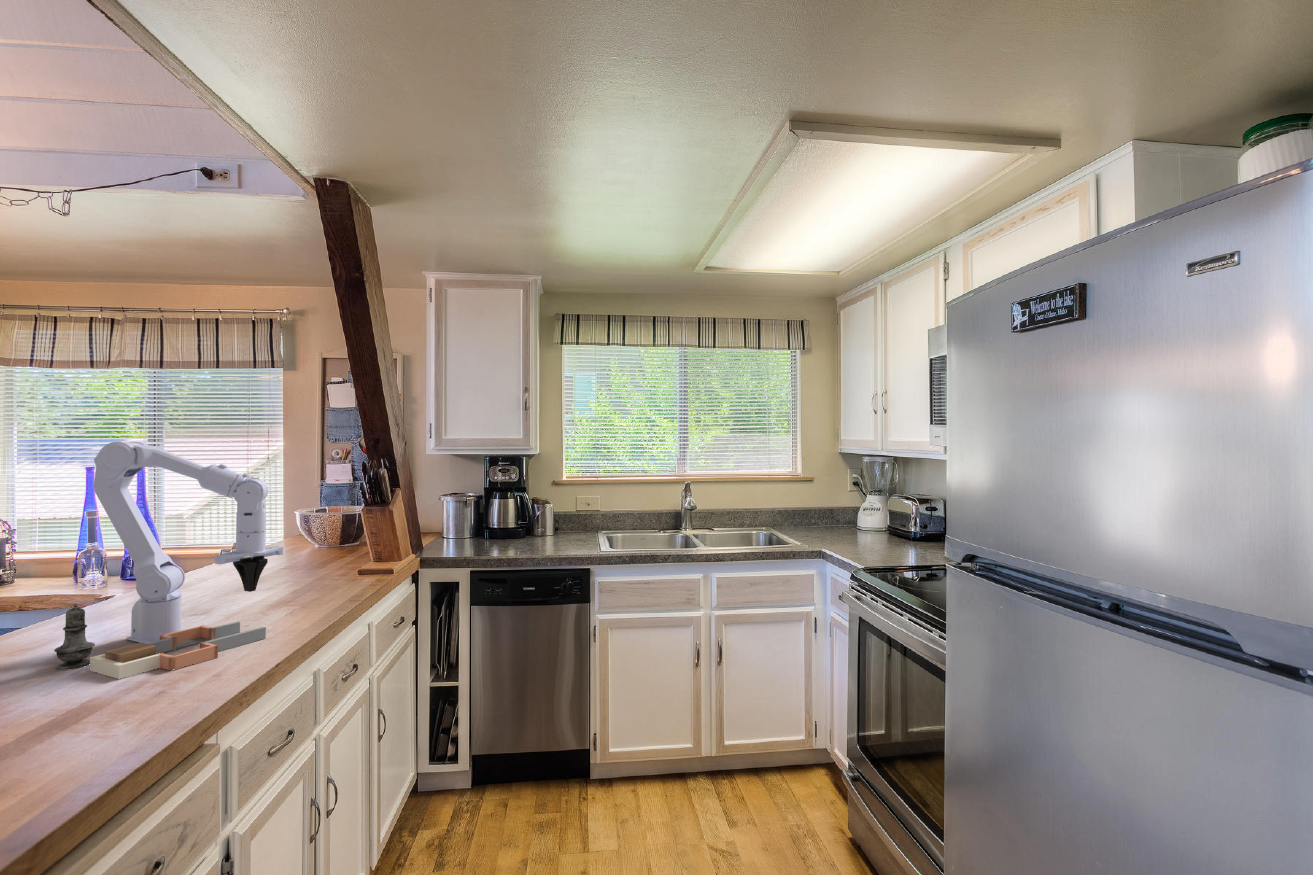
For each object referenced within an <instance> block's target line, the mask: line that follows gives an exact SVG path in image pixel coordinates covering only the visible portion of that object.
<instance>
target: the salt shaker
mask: <svg viewBox="0 0 1313 875" xmlns="http://www.w3.org/2000/svg"><path fill="white" fill-rule="evenodd" d="M78 606H79V605H78V604H77V603H74V605H73V607H72V608H71V609H69V610H67V611H66V612H65V626H64V627H63V628H62V630H63V632H64V640H63V643H62V645H60V646H58V647H56V648H55V649H54V651H53V652H54V653H56V654H55V655H56V657H57V659H58V660H59V661H61V662H62V663H60V664H59V665H57V666H56V667H55V669H56V670H57V669H59V670H58V671H69V670H68V669H72V670H77V669H81V668H82V669H83V668H85V667H84V666H86V667H88V666H90V665H89V664H90V659H88V658H87V657H90V655H91V653H92V651H93V647H95V645H96V644H95V642H93V641H92V642H91V641H87V638H86V628H87V627H88V625H87V624H86V611H85V609H84V608H81V607H78ZM86 658H87V659H86Z"/></svg>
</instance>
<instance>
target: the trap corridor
mask: <svg viewBox="0 0 1313 875" xmlns="http://www.w3.org/2000/svg"><path fill="white" fill-rule="evenodd" d="M266 630H267V628H266V626H259V627H256V628H252V629H248V630H245V631H241V621H234V622H230V623H225V624H221V625H218V626H213V627H212V626H207V625H203V624H202V625H198V626H194V627H189V628H186V629H182V630H181V631H177V632H173V633H168V634H164V635H160V640H159V641H155V642H151V643H147V644H150V645H154V646H156V655H152V656H148V657H144V658H141V659H137V660H133V661H129V662H125V663H120V662H117V661H113V660H109V659H106V658H105V653H103V654H98V655H95V656H89V660H90V665H89V672H94V673H96V672H97V674H100V675H103V676H106V675H107V676H106V677H109V676H110V678H113V677H115V678H114V679H116V678H117V679H116V680H121V679H120V678H122V679H124V678H123V677H126V678H128V676H129V677H132V676H131V675H133V676H136V675H140V674H144V673H147V672H151V671H153V670H152V669H155V670H158V669H162V668H163V670H165V669H168V670H167V671H169V670H173V669H176V670H179V669H178V668H180V669H182V668H181V667H183V666H187V667H190V666H193V665H192V664H194V665H197V664H201V663H203V661H204V662H207V661H211V660H214V659H213V658H215V659H218V658H219V652H222V651H226V650H230V649H232V648H233V649H234V648H237V647H240V646H243V645H244V646H245V645H247V644H251V643H255V642H258V641H262V640H265V639H267V635H266V634H267V632H266ZM191 645H192V646H195V645H199V648H197V649H194V650H190V651H186V652H184V653H179V654H176V655H171V654H167V653H168V652H167V651H169V652H171V651H170V650H173V651H176V649H177V650H180V649H179V648H181V649H183V648H188V647H191ZM164 652H165V653H164ZM159 653H160V654H159ZM200 662H201V663H200ZM189 665H190V666H189ZM157 668H158V669H157ZM183 668H184V667H183ZM150 670H151V671H150ZM173 671H174V670H173ZM143 672H144V673H143Z"/></svg>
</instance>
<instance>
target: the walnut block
mask: <svg viewBox="0 0 1313 875" xmlns="http://www.w3.org/2000/svg"><path fill="white" fill-rule="evenodd" d="M104 654H105V658H106V659H109V660H113V661H117V662H120V663H125V662H129V661H133V660H137V659H141V658H144V657H148V656H152V655H156V646H154V645H150V644H145V643H139V642H136V643H133V644H129V645H125V646H123V647H122V646H121V647H117V648H114V649H109V650H106V651H104Z"/></svg>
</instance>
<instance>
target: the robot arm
mask: <svg viewBox="0 0 1313 875" xmlns="http://www.w3.org/2000/svg"><path fill="white" fill-rule="evenodd" d="M93 462H94V464H95V472H94V481H93V490H94V493H95V495H96V497H97V499H98V501H99V502H100V504H101V506H102V507H103V509H104V512H105V513H106V515H107V516H108V517H107V518H108V519H109V520H110V522H111V524H112V525H113V527H114V529H115V531H116V534H118V537H119V538H120V540H121V542H122V544H123V546H124V547H125V549H126V551H127V552H128V554H129V556H130V558H131V560H132V561H133V572H132V573H133V576H134V579H135V581H136V582H135V583H136V584H135V589H136V593H137V594H138V596H139V597H140V598H139V599H138V600H137V601H136V602H135V603H134V605H133V606H132V608H131V618H130V619H131V629H130V630H131V632H130V633H131V634H130V636H126V637H125V638H126V640H128V641H131V642H134V643H135V642H136V643H145V644H147V643H151V642H155V641H159V640H160V635H164V634H168V633H173V632H177V631H181V628H182V627H181V626H182V623H181V622H182V593H181V591H180V588H181V587H182V585H184V582H185V579H186V575H185V571H184V570H183V568H182V567H180V566H179V565H177V564H176V563H175V562H174V561H173V559H172V558H171V557H170V556H169V555H168V554H166V553H165V552H164V551H163V550H162V549H161V547H160V545H159V544H158V541H157V540H156V538H155V536H154V534H153V532H152V530H151V528H150V526H149V525H148V522H147V521H146V520H145V518H144V516H143V513H142V512H141V511H140V508H139V507H138V505H137V503H136V501H135V499H134V497H133V496H132V493H131V492H130V490H129V486H130V485H131V483H132V481H133V479H134V477H136V475H137V474H138V473H140V472H141V471H142V470H143V469H144V468H154V467H156V468H157V467H158V468H162V469H164V470H167V471H170V472H173V473H176V474H179V475H183V476H185V477H188V478H191V479H192V478H193V479H195V480H197V481H198V484H199V486H200V487H201V488H203V489H205V490H207V491H211V492H213V493H216V494H219V495H221V496H224V497H227V498H229V499H234V500H235V501H236V503H237V504H236V506H237V508H236V517H235V519H236V521H235V522H236V524H235V525H236V527H235V530H236V531H235V550H234V551H230V552H225V553H221V554H215V555H214V564H215V565H225V564H228V563H232V565H233V566H234V568H235V570H236V572H238V575H239V577H240V579H241V584H242V586H243V591H244V592H249V593H252V592H255V591H256V590H257V586H258V583H259V580H260V577H261V575H262V573H263V570H264V569H265V567H266V566H267V565H268V558H266V557H272V556H283V555H284V546H280V545H275V546H266V525H267V524H266V522H267V521H266V520H267V519H266V518H267V514H266V513H267V511H266V500H265V499H266V498H267V497H268V494H269V487H268V485H267V483H266V482H265V481H264V480H261V479H260V478H258V477H251V478H249V477H250V475H249V473H243V474H242V473H239V472H236V471H234V470H231V469H229V468H228V465H225V464H223V463H220V464H219V465H218V464H215V463H214V464H213V463H212V464H210V465H208V466H204V465H202V464H199V463H196V462H195V461H192V460H190V459H187V458H185V457H183V456H180V455H177V454H175V453H173V452H170V451H168V450H166V449H163V448H161V447H158V446H154V445H149V444H144V443H143V442H139V441H128V442H127V441H126V442H124V441H123V442H122V441H113V442H109V443H107V444H105V445H103V446H102V447H101V449H100V450H99V452H98V453H97V455H96V456H95V457H94V459H93Z"/></svg>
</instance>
